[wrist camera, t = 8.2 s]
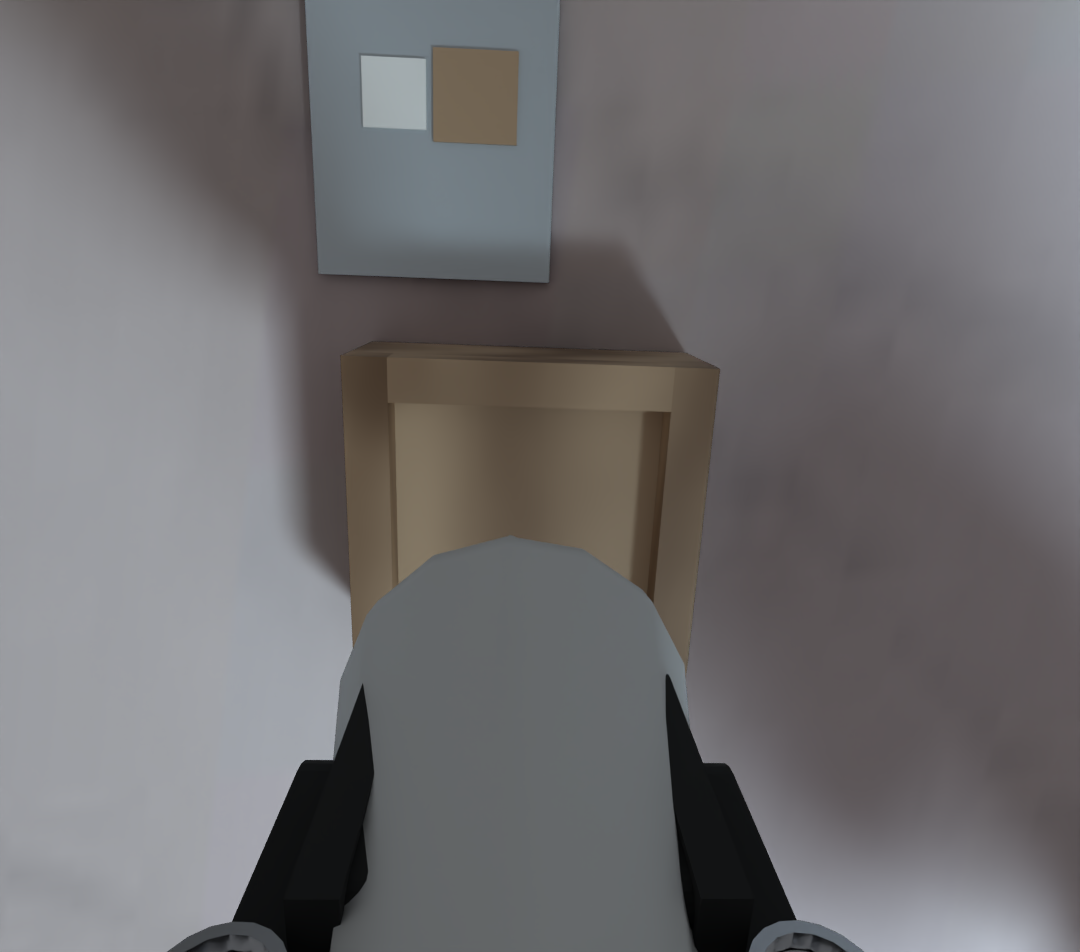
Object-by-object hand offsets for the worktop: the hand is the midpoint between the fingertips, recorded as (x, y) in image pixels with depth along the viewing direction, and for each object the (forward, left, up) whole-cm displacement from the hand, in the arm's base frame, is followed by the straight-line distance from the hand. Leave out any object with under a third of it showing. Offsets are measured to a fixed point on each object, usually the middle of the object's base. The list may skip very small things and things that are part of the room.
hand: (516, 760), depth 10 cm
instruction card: (+3, -12, -13) cm, 18 cm away
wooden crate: (0, 0, -13) cm, 13 cm away
